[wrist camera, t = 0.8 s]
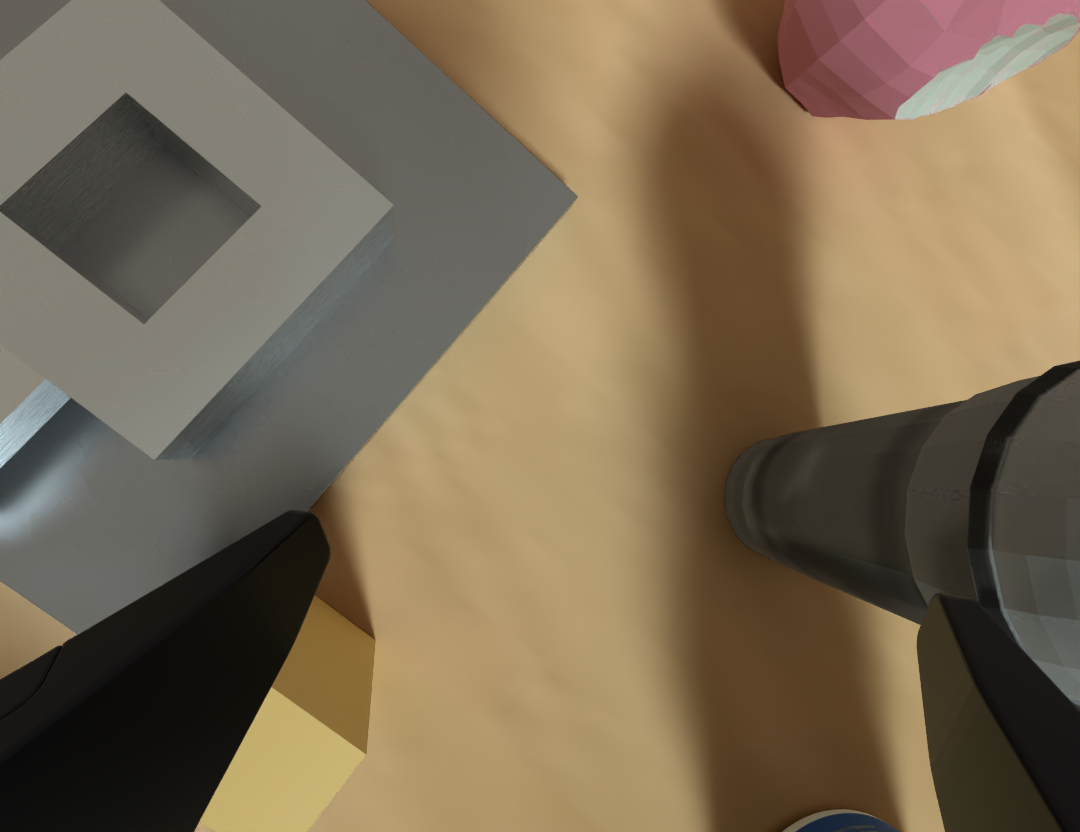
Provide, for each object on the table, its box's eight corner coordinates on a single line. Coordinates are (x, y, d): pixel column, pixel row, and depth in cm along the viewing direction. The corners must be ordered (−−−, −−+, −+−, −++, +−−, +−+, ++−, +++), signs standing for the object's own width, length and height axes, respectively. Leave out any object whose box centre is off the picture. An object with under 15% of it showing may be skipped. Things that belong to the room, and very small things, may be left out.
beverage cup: (662, 440, 23) (2122, 362, 4) (823, 376, 25) (2397, 91, 5) (729, 626, 23) (2468, 1506, 4) (884, 549, 25) (2627, 885, 6)
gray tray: (166, 675, 19) (66, 774, 13) (-340, 323, 17) (-733, 252, 11) (570, 207, 23) (631, 122, 17) (202, -130, 21) (127, -362, 15)
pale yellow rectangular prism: (320, 709, 20) (275, 872, 12) (253, 661, 19) (161, 797, 12) (375, 640, 20) (366, 754, 13) (310, 591, 20) (259, 678, 12)
